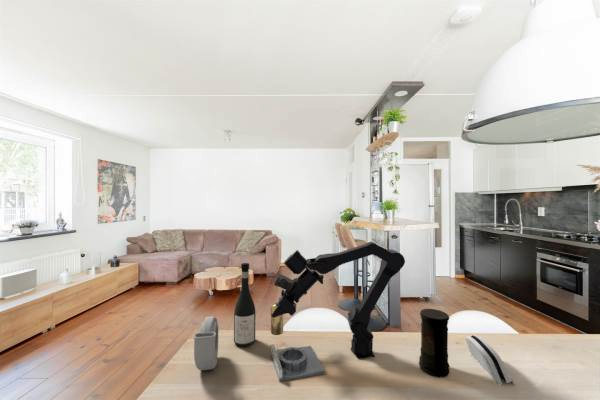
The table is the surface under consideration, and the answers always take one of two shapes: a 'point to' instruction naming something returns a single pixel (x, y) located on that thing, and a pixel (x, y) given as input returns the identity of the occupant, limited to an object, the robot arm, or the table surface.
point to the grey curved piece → (488, 359)
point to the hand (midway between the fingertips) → (273, 313)
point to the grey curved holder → (206, 344)
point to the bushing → (276, 321)
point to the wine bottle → (244, 313)
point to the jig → (296, 362)
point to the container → (434, 343)
